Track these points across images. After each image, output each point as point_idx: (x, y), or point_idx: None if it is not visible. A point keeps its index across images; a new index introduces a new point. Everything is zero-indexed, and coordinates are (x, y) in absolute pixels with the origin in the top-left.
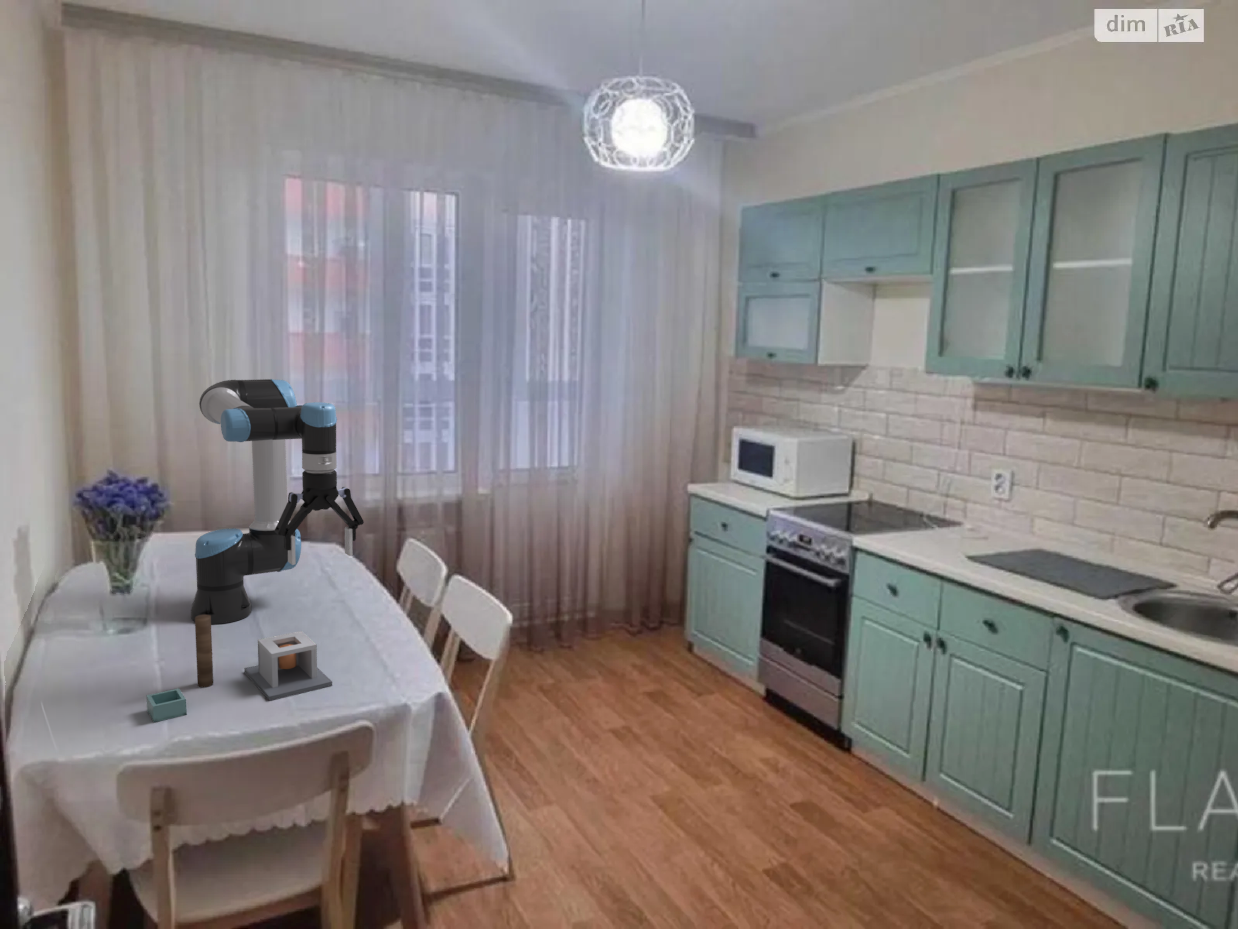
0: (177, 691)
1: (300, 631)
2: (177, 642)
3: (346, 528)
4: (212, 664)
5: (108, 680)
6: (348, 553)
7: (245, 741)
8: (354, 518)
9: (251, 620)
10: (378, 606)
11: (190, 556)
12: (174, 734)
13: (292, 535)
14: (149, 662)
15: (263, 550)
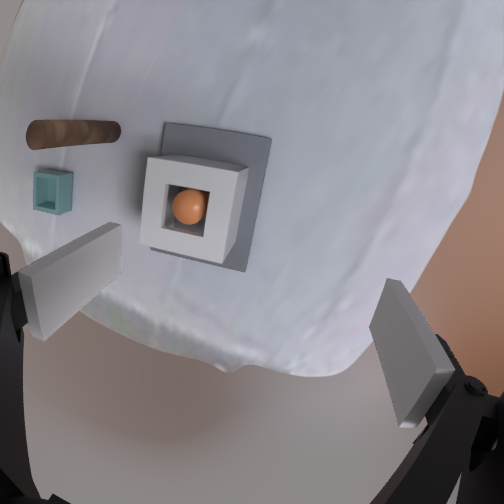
0: (56, 185)
1: (234, 174)
2: None
3: (419, 392)
4: (101, 137)
5: (52, 50)
6: (374, 322)
7: (104, 312)
8: (501, 423)
9: None
10: (497, 44)
11: None
12: (57, 244)
13: (35, 309)
14: (100, 12)
15: None
